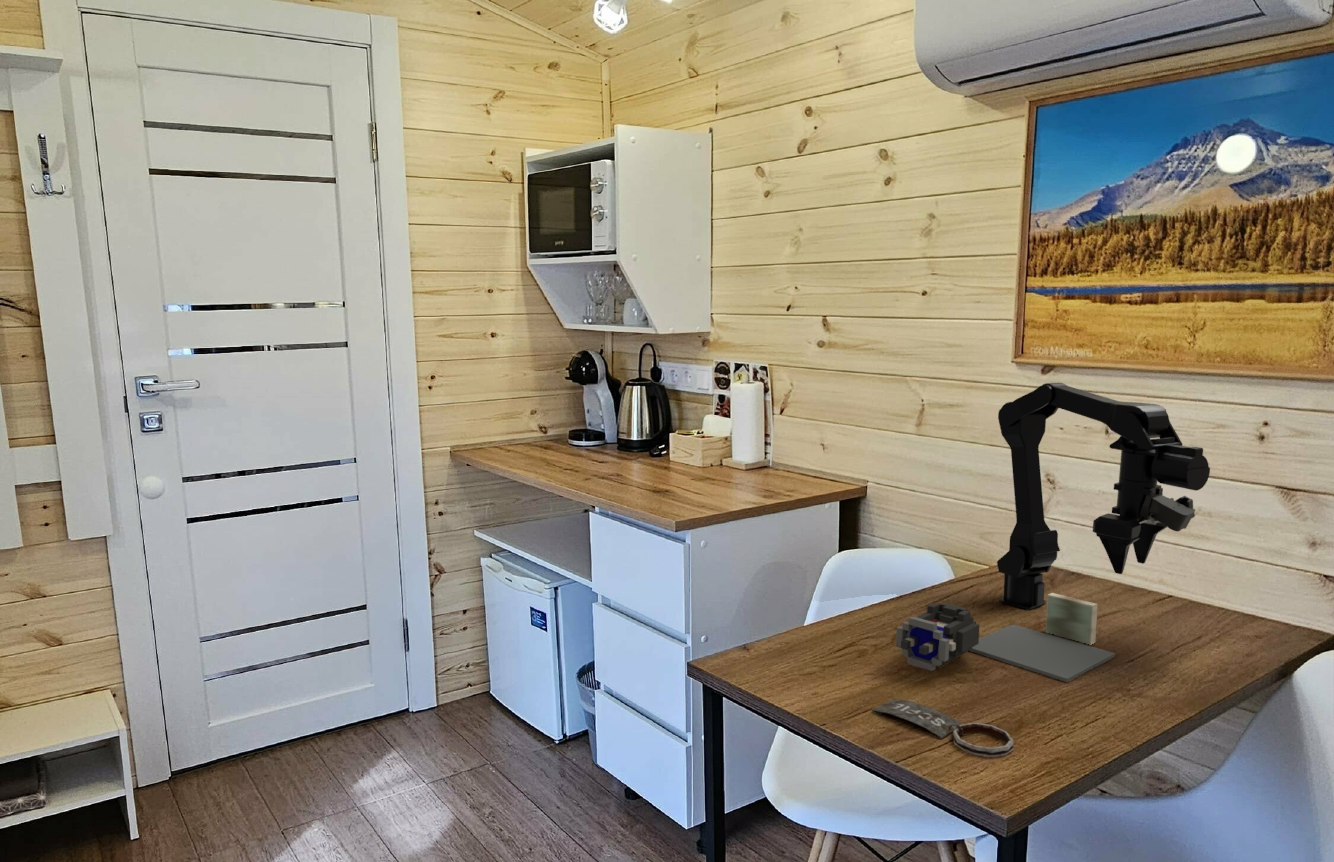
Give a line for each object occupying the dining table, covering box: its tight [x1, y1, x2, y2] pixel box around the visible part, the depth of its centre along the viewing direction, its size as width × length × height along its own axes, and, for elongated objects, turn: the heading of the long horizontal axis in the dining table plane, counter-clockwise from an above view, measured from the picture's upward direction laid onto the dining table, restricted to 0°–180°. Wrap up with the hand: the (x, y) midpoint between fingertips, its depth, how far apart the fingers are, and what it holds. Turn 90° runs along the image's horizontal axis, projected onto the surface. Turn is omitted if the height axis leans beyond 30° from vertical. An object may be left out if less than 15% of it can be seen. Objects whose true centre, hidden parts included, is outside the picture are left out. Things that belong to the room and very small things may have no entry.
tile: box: [1045, 592, 1099, 646], centre depth 154 cm, size 8×2×7 cm, turn 39°
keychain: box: [871, 698, 1015, 758], centre depth 121 cm, size 8×19×2 cm, turn 41°
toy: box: [895, 602, 980, 672], centre depth 142 cm, size 9×9×15 cm
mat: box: [967, 624, 1116, 683], centre depth 147 cm, size 18×16×1 cm
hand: (1130, 568), depth 151 cm, fingers open, 9 cm apart
